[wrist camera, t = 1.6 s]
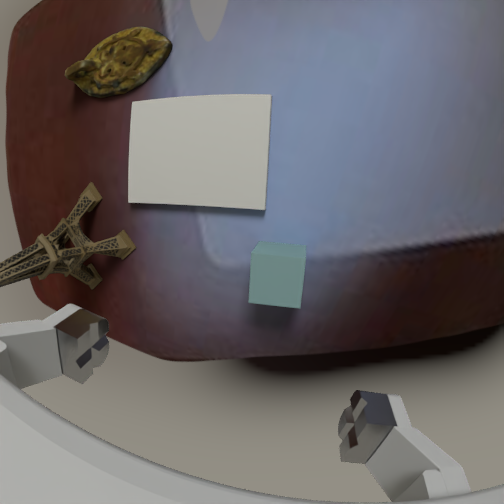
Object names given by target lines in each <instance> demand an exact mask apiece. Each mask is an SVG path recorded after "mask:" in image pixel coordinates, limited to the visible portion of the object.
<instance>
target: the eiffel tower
mask: <svg viewBox="0 0 504 504" xmlns="http://www.w3.org/2000/svg"><path fill="white" fill-rule="evenodd" d="M80 197H81V198H80V199H79V201H78V203H77V205H76V206H75V207H74V209H73V210H72V212H71V213H70V215H69V216H68V218H67V219H65V218H62V220H61V221H60V223H59V224H58V225H57V227H56V228H55V230H54V231H53V232H51V233H50V234H49V235H48V236H46V237H45V236H44V235H43V234H41V235H40V236H39V237H37V240H36V242H35V244H33V245H32V246H30V247H28V248H26V249H24V250H22V251H21V252H19V253H17V254H15V255H13V256H12V257H10V258H8V259H6V260H5V261H3V262H1V263H0V287H2V286H5V285H8V284H11V283H15V282H17V281H21V280H24V279H27V278H31V277H34V276H37V275H38V277H39V279H45V278H46V277H47V275H48V274H50V273H62V274H64V275H65V277H67V276H68V275H69V274H70V275H72V276H73V277H75V278H76V279H78V280H80V281H82V282H83V283H85V284H88V285H89V286H90V288H91V289H92V290H93V289H94V288H95V287H96V286H97V285H98V284H99V283H100V282H101V281H102V280H103V279H102V278H101V276H100V275H99V274H98V272H97V271H96V269H95V268H94V266H93V265H92V263H91V264H89V265H88V266H85V265H83V262H84V261H85V260H86V259H88V258H89V257H90V256H91V255H92V254H93V253H97V254H103V255H109V256H116V257H119V258H120V257H121V259H122V260H123V259H124V258H126V257H127V256H128V255H129V254H130V253H131V252H132V251H133V250H134V249H135V248H136V246H135V245H134V243H133V242H132V241H131V239H130V238H129V236H128V235H127V233H126V232H125V231H124V230H122V231H121V232H120V233H119V234H118V235H117V236H116V237H112V238H109V239H106V240H102V241H99V242H96V243H93V242H92V241H90V240H89V239H88V238H87V237H86V236H85V235H84V233H83V232H82V230H81V227H80V224H79V221H80V219H81V218H82V217H83V215H84V214H85V213H86V211H88V212H91V211H92V210H93V209H94V207H95V206H96V205H97V204H98V203H99V202H100V201H101V199H102V197H101V195H100V194H99V192H98V190H97V189H96V187H95V186H94V184H93V183H92V182H91V183H90V184H89V185H88V186H87V188H86V189H85V190H84V191H83V193H82V194H81V195H80ZM69 238H70V239H71V240H72V242H73V243H74V245H75V247H76V248H69V249H66V248H65V243H66V242H67V240H68V239H69ZM47 253H48V254H47Z"/></svg>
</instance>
